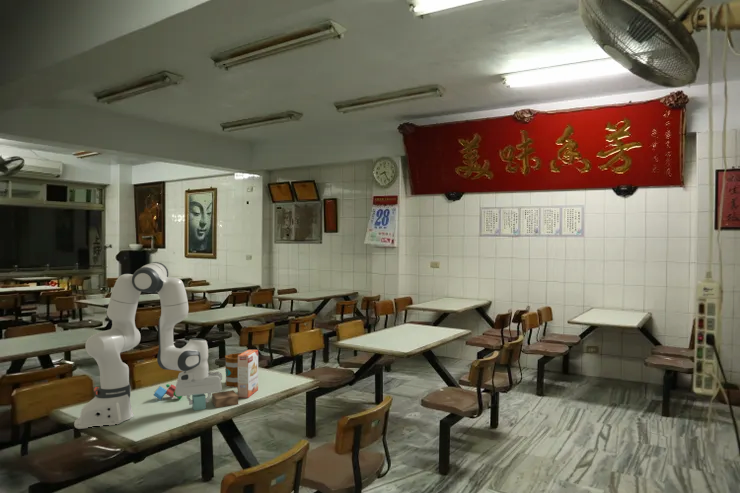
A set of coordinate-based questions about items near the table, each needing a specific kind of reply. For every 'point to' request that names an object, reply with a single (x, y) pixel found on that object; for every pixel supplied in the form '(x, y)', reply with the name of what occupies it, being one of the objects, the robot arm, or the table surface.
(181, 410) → the table surface
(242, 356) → the cracker box
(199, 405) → the teal block
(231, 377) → the mug
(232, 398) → the walnut base block
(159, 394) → the building blocks
